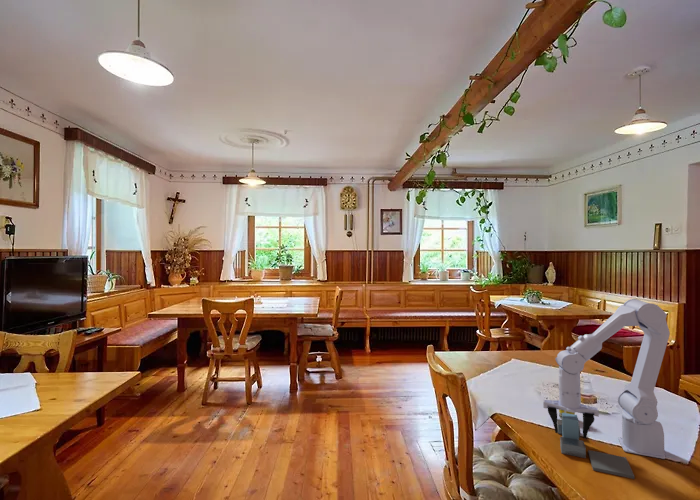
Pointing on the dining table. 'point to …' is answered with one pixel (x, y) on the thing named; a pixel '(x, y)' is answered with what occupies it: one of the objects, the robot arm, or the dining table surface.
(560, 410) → the supplement bottle
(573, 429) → the peg
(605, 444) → the dining table surface
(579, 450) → the vise
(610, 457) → the pad
